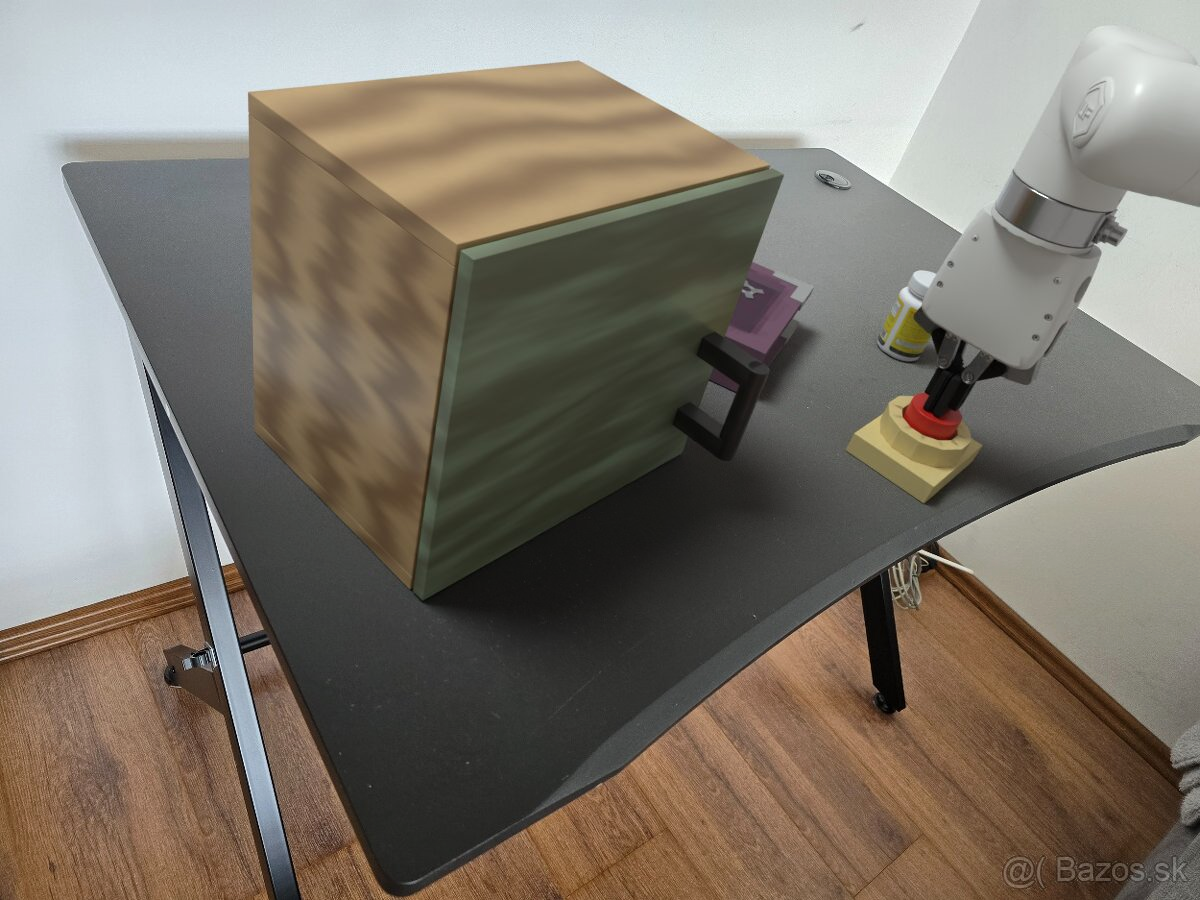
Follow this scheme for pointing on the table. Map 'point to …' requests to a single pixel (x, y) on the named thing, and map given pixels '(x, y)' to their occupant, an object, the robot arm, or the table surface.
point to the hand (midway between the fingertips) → (937, 407)
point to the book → (764, 316)
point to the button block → (912, 452)
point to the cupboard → (420, 250)
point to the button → (931, 419)
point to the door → (586, 366)
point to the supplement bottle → (906, 321)
